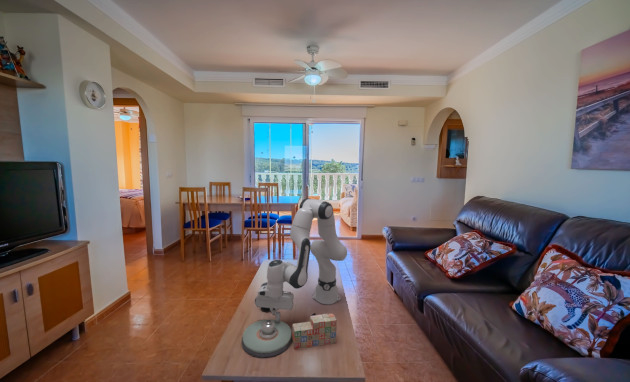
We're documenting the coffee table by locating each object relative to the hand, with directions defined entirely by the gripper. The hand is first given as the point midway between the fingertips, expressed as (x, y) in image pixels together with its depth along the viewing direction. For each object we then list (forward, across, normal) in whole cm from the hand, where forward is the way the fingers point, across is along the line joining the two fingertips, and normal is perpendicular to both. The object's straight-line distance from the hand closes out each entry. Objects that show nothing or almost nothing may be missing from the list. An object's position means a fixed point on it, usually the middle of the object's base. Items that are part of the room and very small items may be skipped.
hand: (274, 315), depth 139 cm
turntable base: (+7, 0, +11) cm, 13 cm away
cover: (+3, 0, +11) cm, 11 cm away
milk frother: (+7, +11, -20) cm, 23 cm away
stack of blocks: (+7, -23, +9) cm, 26 cm away
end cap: (+7, -23, -1) cm, 24 cm away
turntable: (+5, +1, +11) cm, 12 cm away
